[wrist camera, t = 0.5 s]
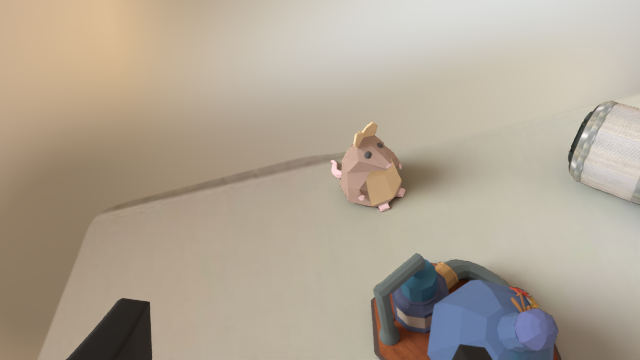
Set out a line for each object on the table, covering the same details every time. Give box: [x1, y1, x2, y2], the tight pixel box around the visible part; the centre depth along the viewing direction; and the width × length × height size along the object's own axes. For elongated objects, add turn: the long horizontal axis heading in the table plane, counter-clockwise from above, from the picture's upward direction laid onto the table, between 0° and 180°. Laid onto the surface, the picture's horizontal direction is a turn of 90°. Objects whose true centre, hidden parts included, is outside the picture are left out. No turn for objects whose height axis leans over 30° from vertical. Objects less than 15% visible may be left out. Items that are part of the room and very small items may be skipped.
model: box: [371, 253, 562, 360], centre depth 28 cm, size 12×9×9 cm
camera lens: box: [568, 101, 640, 205], centre depth 35 cm, size 6×6×8 cm
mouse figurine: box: [331, 122, 405, 212], centre depth 40 cm, size 5×8×7 cm, turn 42°
